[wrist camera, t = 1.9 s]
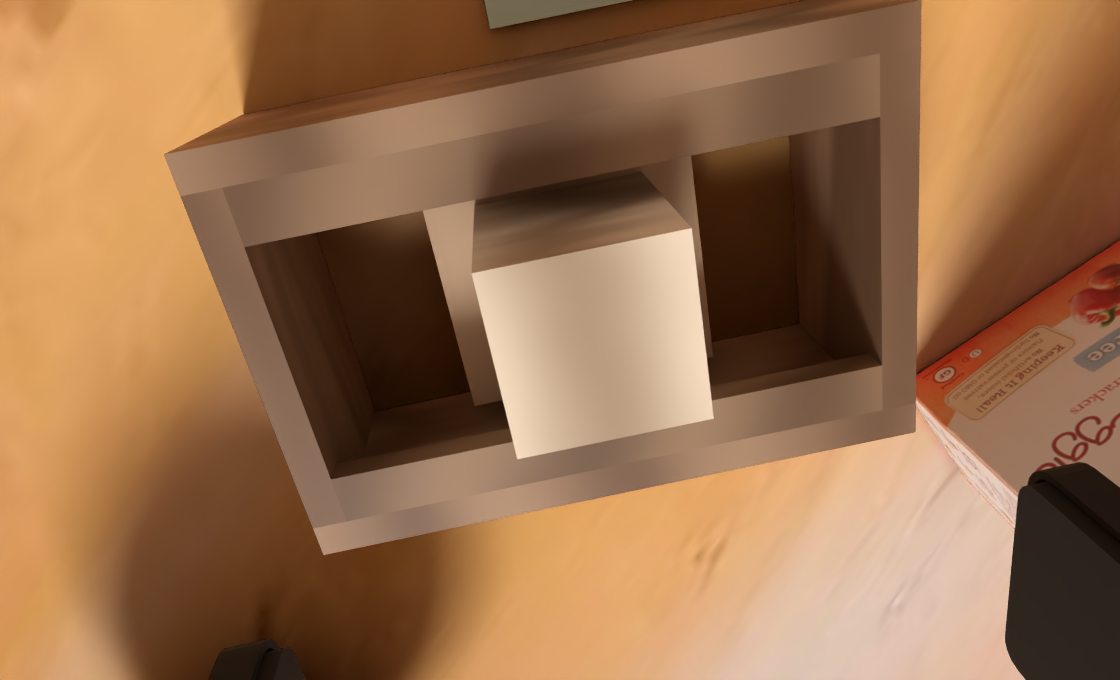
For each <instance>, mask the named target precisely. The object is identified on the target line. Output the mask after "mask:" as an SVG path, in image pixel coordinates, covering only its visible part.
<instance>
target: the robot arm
mask: <svg viewBox="0 0 1120 680" xmlns="http://www.w3.org/2000/svg"><path fill="white" fill-rule="evenodd" d="M1005 643H1006V647H1007V650H1008V653H1009V656H1010V658H1011V660H1012V662H1013V664H1014V665H1015V666H1016V668H1017V669H1018V671H1019V672H1020V673H1021V674H1022V676H1023V677H1024V678H1025V679H1026V680H1120V487H1119V486H1117V485H1116V484H1115V483H1113V482H1112V481H1111V480H1110V479H1108V478H1107V477H1106V476H1104V475H1103V474H1102V473H1100V472H1099V471H1098V470H1097V469H1095V468H1094V467H1092V466H1090V465H1089V464H1087V463H1082V462H1076V463H1072V464H1067V465H1063V466H1058V467H1054V468H1049V469H1044V470H1040V471H1036V472H1033V473H1032V474H1031V476H1030V477H1029V480H1028V484H1027V486H1023V487H1022V488H1021V489H1020V490H1019V493H1018V500H1017V511H1016V522H1015V533H1014V544H1013V555H1012V566H1011V577H1010V588H1009V599H1008V610H1007V621H1006V632H1005ZM209 680H306V678H305V676H304V674H303V672H302V669H301V667H300V665H299V663H298V661H297V659H296V656H295V654H294V653H293V651H292V649H290V648H289V647H287V648H282V649H280V648H279V646H278V645H277V643H276V642H275V641H274V640H272V639H266V640H261V641H257V642H252V643H248V644H243V645H239V646H234V647H229V648H225V649H224V650H222V651H221V652H220V654H219V656H218V658H217V659H216V662H215V665H214V667H213V670H212V673H211V675H210V678H209Z"/></svg>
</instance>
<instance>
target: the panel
mask: <svg viewBox="0 0 1120 680" xmlns="http://www.w3.org/2000/svg"><path fill="white" fill-rule="evenodd" d="M626 1H631V0H484V2H485V6H486V11H487V16H488V21H489V26H490V29H493V28H498V27H503V26H508V25H513V24H518V23H523V22H528V21H533V20H538V19H543V18H548V17H552V16H557V15H562V14H567V13H572V12H577V11H582V10H587V9H592V8H597V7H602V6H607V5H611V4H616V3H621V2H626Z"/></svg>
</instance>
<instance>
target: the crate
mask: <svg viewBox="0 0 1120 680" xmlns="http://www.w3.org/2000/svg"><path fill="white" fill-rule="evenodd" d="M920 59H921V0H803V1H798V2H793V3H788V4H784V5H779V6H774V7H769V8H764V9H759V10H754V11H749V12H744V13H739V14H734V15H730V16H725V17H720V18H715V19H710V20H705V21H700V22H695V23H690V24H685V25H681V26H676V27H671V28H666V29H661V30H656V31H651V32H646V33H641V34H636V35H631V36H627V37H622V38H617V39H612V40H607V41H602V42H597V43H592V44H587V45H582V46H577V47H573V48H568V49H563V50H558V51H553V52H548V53H543V54H538V55H533V56H528V57H523V58H519V59H514V60H509V61H504V62H499V63H494V64H489V65H484V66H479V67H474V68H469V69H465V70H460V71H455V72H450V73H445V74H440V75H435V76H430V77H425V78H420V79H415V80H411V81H406V82H401V83H396V84H391V85H386V86H381V87H376V88H371V89H366V90H362V91H357V92H352V93H347V94H342V95H337V96H332V97H327V98H322V99H317V100H312V101H308V102H303V103H298V104H293V105H288V106H283V107H278V108H273V109H268V110H263V111H258V112H254V113H249V114H244V115H241V116H239V117H237V118H235V119H233V120H231V121H229V122H227V123H225V124H223V125H221V126H220V127H218V128H216V129H214V130H212V131H210V132H208V133H206V134H204V135H202V136H200V137H198V138H196V139H194V140H192V141H190V142H188V143H186V144H184V145H182V146H180V147H178V148H176V149H174V150H172V151H170V152H168V153H166V154H164V156H165V159H166V161H167V164H168V166H169V169H170V171H171V174H172V176H173V179H174V181H175V184H176V186H177V189H178V191H179V194H180V196H181V199H182V201H183V204H184V206H185V209H186V211H187V214H188V216H189V219H190V221H191V224H192V226H193V229H194V231H195V234H196V236H197V239H198V241H199V244H200V247H201V249H202V252H203V254H204V257H205V259H206V262H207V264H208V267H209V269H210V272H211V274H212V277H213V279H214V282H215V284H216V287H217V289H218V292H219V294H220V297H221V299H222V302H223V304H224V307H225V309H226V312H227V314H228V317H229V319H230V322H231V324H232V327H233V329H234V332H235V334H236V337H237V339H238V342H239V344H240V347H241V349H242V352H243V354H244V357H245V359H246V362H247V364H248V367H249V369H250V372H251V374H252V377H253V379H254V382H255V384H256V387H257V389H258V392H259V394H260V397H261V399H262V402H263V405H264V407H265V410H266V412H267V415H268V417H269V420H270V422H271V425H272V427H273V430H274V432H275V435H276V437H277V440H278V442H279V445H280V447H281V450H282V452H283V455H284V457H285V460H286V462H287V465H288V467H289V470H290V472H291V475H292V477H293V480H294V482H295V485H296V487H297V490H298V492H299V495H300V497H301V500H302V502H303V505H304V507H305V510H306V512H307V515H308V517H309V520H310V522H311V525H312V527H313V530H314V532H315V535H316V537H317V540H318V542H319V545H320V547H321V550H322V552H323V555H326V554H331V553H336V552H341V551H346V550H350V549H355V548H360V547H365V546H370V545H374V544H379V543H384V542H389V541H394V540H398V539H403V538H408V537H413V536H418V535H423V534H427V533H432V532H437V531H442V530H447V529H451V528H456V527H461V526H466V525H471V524H475V523H480V522H485V521H490V520H495V519H500V518H504V517H509V516H514V515H519V514H524V513H528V512H533V511H538V510H543V509H548V508H552V507H557V506H562V505H567V504H572V503H576V502H581V501H586V500H591V499H596V498H601V497H605V496H610V495H615V494H620V493H625V492H629V491H634V490H639V489H644V488H649V487H653V486H658V485H663V484H668V483H673V482H678V481H682V480H687V479H692V478H697V477H702V476H706V475H711V474H716V473H721V472H726V471H730V470H735V469H740V468H745V467H750V466H755V465H759V464H764V463H769V462H774V461H779V460H783V459H788V458H793V457H798V456H803V455H807V454H812V453H817V452H822V451H827V450H832V449H836V448H841V447H846V446H851V445H856V444H860V443H865V442H870V441H875V440H880V439H884V438H889V437H894V436H899V435H904V434H908V433H913V432H915V431H916V356H917V282H918V208H919V133H920ZM785 136H789V142H790V159H791V177H792V195H793V212H794V230H795V247H796V265H797V282H798V300H799V318H800V324H797V325H793V326H788V327H783V328H778V329H773V330H768V331H764V332H759V333H754V334H749V335H744V336H739V337H734V338H730V339H725V340H720V341H715V342H712V341H711V332H710V323H709V314H708V305H707V296H706V287H705V278H704V269H703V260H702V251H701V242H700V233H699V224H698V215H697V206H696V197H695V188H694V179H693V170H692V161H691V156H692V155H697V154H702V153H707V152H711V151H716V150H721V149H726V148H731V147H736V146H741V145H746V144H750V143H755V142H760V141H765V140H770V139H775V138H780V137H785ZM637 172H642V173H643V174H644V175H645V176H646V177H647V178H648V179H649V181H650V182H651V183H652V184H653V185H654V186H655V187H656V188H657V190H658V191H659V192H660V193H661V194H662V195H663V196H664V197H665V199H666V200H667V201H668V202H669V203H670V204H671V205H672V206H673V208H674V209H675V210H676V211H677V212H678V213H679V214H680V215H681V217H682V218H683V219H684V220H685V221H686V222H687V223H688V224H689V226H690V227H691V228H692V235H693V243H694V252H695V261H696V269H697V278H698V287H699V295H700V304H701V313H702V321H703V330H704V339H705V347H706V356H707V365H708V373H709V382H710V391H711V399H712V408H713V417H714V419H710V420H705V421H700V422H695V423H690V424H686V425H681V426H676V427H671V428H666V429H661V430H657V431H652V432H647V433H642V434H637V435H633V436H628V437H623V438H618V439H613V440H608V441H604V442H599V443H594V444H589V445H584V446H579V447H575V448H570V449H565V450H560V451H555V452H551V453H546V454H541V455H536V456H531V457H526V458H522V459H517V456H516V452H515V448H514V444H513V439H512V435H511V431H510V427H509V423H508V419H507V415H506V411H505V407H504V403H503V399H502V395H501V391H500V387H499V383H498V379H497V375H496V371H495V367H494V363H493V358H492V354H491V350H490V346H489V342H488V338H487V334H486V330H485V326H484V322H483V318H482V314H481V310H480V306H479V302H478V298H477V294H476V290H475V286H474V282H473V277H472V249H473V225H474V206H476V205H481V204H486V203H491V202H496V201H501V200H505V199H510V198H515V197H520V196H525V195H530V194H535V193H540V192H544V191H549V190H554V189H559V188H564V187H569V186H574V185H579V184H583V183H588V182H593V181H598V180H603V179H608V178H613V177H618V176H623V175H627V174H632V173H637ZM419 211H423V214H424V218H425V222H426V225H427V229H428V233H429V237H430V240H431V244H432V248H433V252H434V255H435V259H436V263H437V267H438V271H439V274H440V278H441V282H442V286H443V289H444V293H445V297H446V301H447V304H448V308H449V312H450V316H451V319H452V323H453V327H454V331H455V335H456V338H457V342H458V346H459V350H460V353H461V357H462V361H463V365H464V368H465V372H466V376H467V380H468V383H469V387H470V391H471V392H468V393H464V394H459V395H454V396H449V397H444V398H439V399H434V400H430V401H425V402H420V403H415V404H410V405H405V406H401V407H396V408H391V409H386V410H381V411H376V412H375V410H374V407H373V404H372V401H371V398H370V395H369V392H368V389H367V386H366V383H365V380H364V377H363V374H362V371H361V368H360V365H359V362H358V359H357V356H356V353H355V350H354V347H353V344H352V341H351V338H350V335H349V331H348V328H347V325H346V322H345V319H344V316H343V313H342V310H341V307H340V304H339V301H338V298H337V295H336V292H335V289H334V286H333V283H332V280H331V277H330V274H329V271H328V268H327V265H326V262H325V259H324V256H323V253H322V250H321V247H320V244H319V241H318V237H317V234H316V232H321V231H326V230H331V229H336V228H341V227H345V226H350V225H355V224H360V223H365V222H370V221H375V220H380V219H384V218H389V217H394V216H399V215H404V214H409V213H414V212H419Z"/></svg>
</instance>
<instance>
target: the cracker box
mask: <svg viewBox="0 0 1120 680" xmlns="http://www.w3.org/2000/svg"><path fill="white" fill-rule="evenodd" d="M916 406H917V407H918V409H919V410H920V412H921V413H922V415H923V416H924V417H925V419H926V420H927V422H928V423H929V425H930V426H931V428H932V429H933V431H934V432H935V434H936V435H937V437H938V438H939V440H940V441H941V443H942V444H943V446H944V447H945V449H946V450H947V452H948V453H949V455H950V456H951V458H952V459H953V461H954V462H955V464H956V465H957V467H958V468H959V470H960V471H961V473H962V474H963V476H964V477H965V478H966V479H967V480H968V481H969V482H970V484H971V485H972V486H973V487H974V488H975V489H976V490H977V491H978V492H979V493H980V494H981V495H982V496H983V497H984V498H985V499H986V500H987V501H988V502H989V503H990V505H991V506H992V507H993V508H994V509H995V510H996V511H997V512H998V513H999V514H1000V515H1001V516H1002V517H1003V518H1004V519H1005V520H1006V521H1007V522H1008V523H1009V524H1010V525H1011V526H1012V527H1013V528H1014V529H1015V522H1016V511H1017V500H1018V493H1019V490H1020V489H1021V488H1022V487H1023V486H1027V484H1028V480H1029V477H1030V476H1031V474H1032V473H1033V472H1036V471H1040V470H1044V469H1049V468H1054V467H1058V466H1063V465H1067V464H1072V463H1076V462H1082V463H1087V464H1089V465H1090V466H1092V467H1094V468H1095V469H1097V470H1098V471H1099V472H1100V473H1102V474H1103V475H1104V476H1106V477H1107V478H1108V479H1110V480H1111V481H1112V482H1113V483H1115V484H1116V485H1117V486H1119V487H1120V240H1119V241H1118V242H1116V243H1115V244H1113V245H1112V246H1111V247H1109V248H1108V249H1106V250H1105V251H1103V252H1101V253H1100V254H1098V255H1097V256H1095V257H1094V258H1092V259H1091V260H1089V261H1088V262H1086V263H1085V264H1083V265H1082V266H1080V267H1079V268H1078V269H1076V270H1075V271H1073V272H1071V273H1069V274H1068V275H1067V276H1065V277H1064V278H1062V279H1061V280H1059V281H1058V282H1056V283H1055V284H1053V285H1052V286H1050V287H1048V288H1047V289H1045V290H1044V291H1042V292H1041V293H1039V294H1038V295H1036V296H1035V297H1033V298H1032V299H1031V300H1029V301H1028V302H1026V303H1025V304H1023V305H1022V306H1020V307H1019V308H1017V309H1016V310H1014V311H1013V312H1011V313H1009V314H1008V315H1006V316H1005V317H1003V318H1002V319H1000V320H999V321H997V322H996V323H994V324H993V325H991V326H990V327H988V328H987V329H985V330H984V331H982V332H981V333H979V334H978V335H976V336H975V337H973V338H972V339H970V340H969V341H967V342H965V343H964V344H963V345H961V346H960V347H958V348H957V349H955V350H954V351H952V352H950V353H949V354H947V355H946V356H945V357H943V358H941V359H940V360H938V361H937V362H936V363H934V364H933V365H931V366H929V367H928V368H926V369H924V370H923V371H922V372H920V373H919V374H918V375H916Z"/></svg>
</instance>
